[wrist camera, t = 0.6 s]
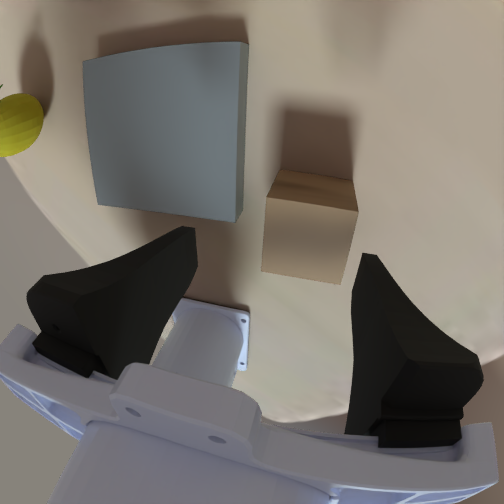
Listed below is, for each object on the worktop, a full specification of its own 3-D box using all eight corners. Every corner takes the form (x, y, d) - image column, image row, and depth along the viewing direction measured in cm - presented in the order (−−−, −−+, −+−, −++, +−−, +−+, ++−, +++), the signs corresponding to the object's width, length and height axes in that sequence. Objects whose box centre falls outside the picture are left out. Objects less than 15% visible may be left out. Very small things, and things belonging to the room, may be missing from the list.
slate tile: (242, 210, 23) (235, 222, 21) (111, 194, 25) (98, 204, 23) (248, 44, 16) (240, 41, 14) (99, 59, 18) (82, 61, 16)
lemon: (43, 157, 24) (-33, 201, 16) (18, 117, 22) (-57, 152, 14) (72, 113, 21) (-20, 151, 13) (44, 71, 19) (-45, 97, 11)
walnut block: (340, 242, 22) (340, 284, 18) (274, 231, 23) (261, 271, 19) (352, 180, 20) (358, 212, 16) (280, 169, 20) (266, 197, 16)
